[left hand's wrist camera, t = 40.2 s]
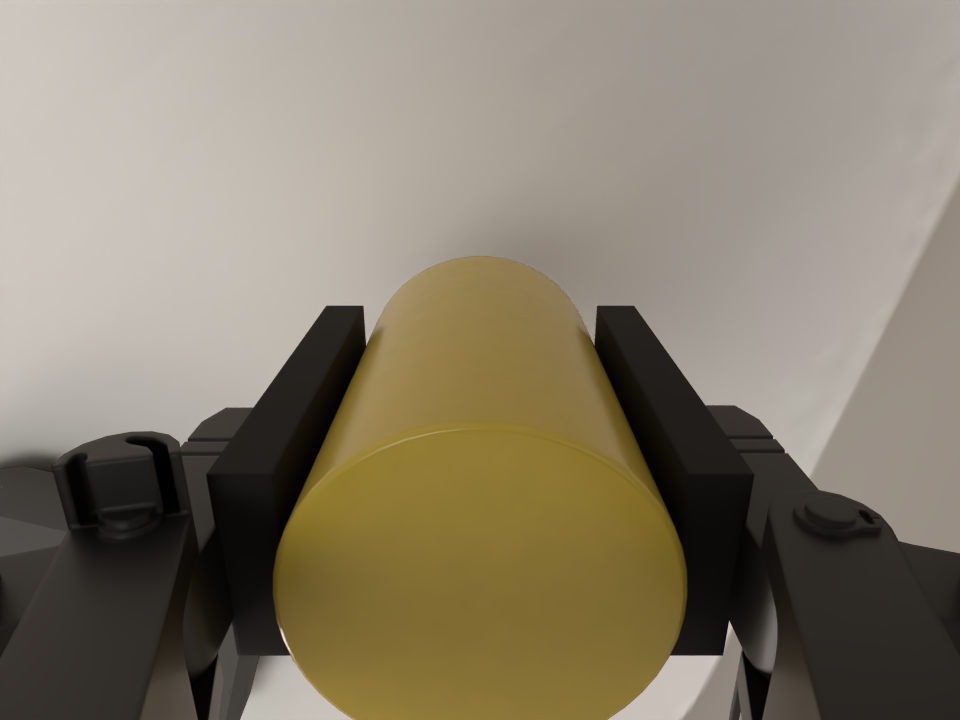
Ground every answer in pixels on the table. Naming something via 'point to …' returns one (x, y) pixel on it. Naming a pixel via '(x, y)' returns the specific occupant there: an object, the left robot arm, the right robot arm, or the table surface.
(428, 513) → the tin
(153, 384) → the table surface
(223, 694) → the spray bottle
